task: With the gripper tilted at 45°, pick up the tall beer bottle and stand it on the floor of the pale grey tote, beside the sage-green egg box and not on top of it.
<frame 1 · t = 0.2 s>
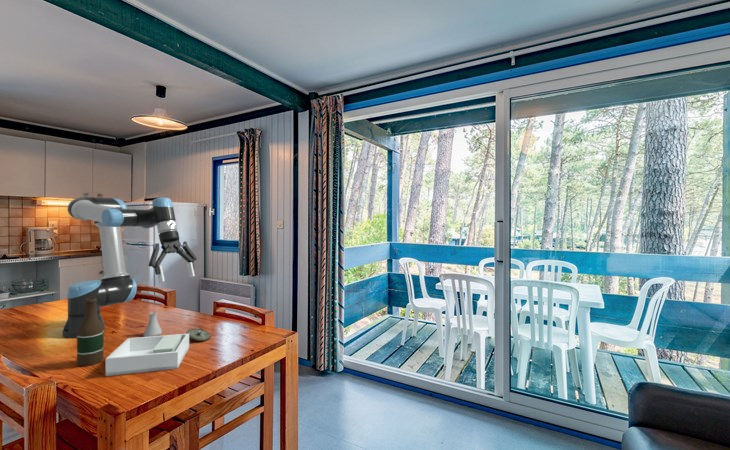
hand: (177, 279, 144), 28 cm above the table, tool tilted 20°, fingers open, 13 cm apart
flask: (153, 335, 154), on the table
tote: (151, 360, 127), on the table
beer bottle: (90, 362, 124), on the table
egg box: (167, 356, 128), point 1 cm above the table, touching tote
lid: (198, 339, 150), on the table
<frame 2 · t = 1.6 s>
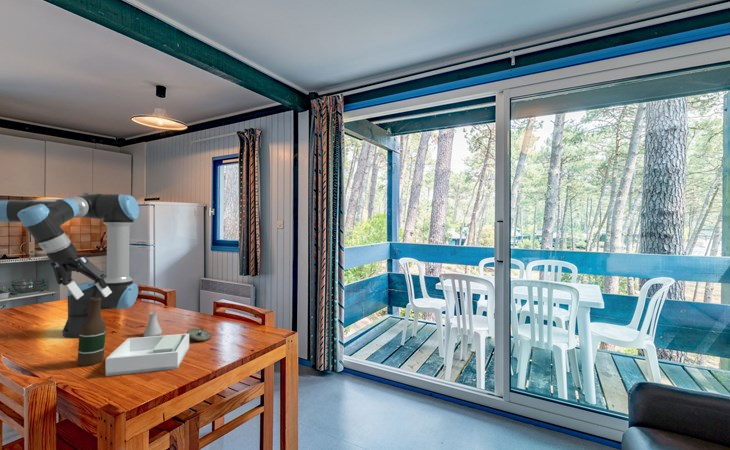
hand: (94, 295, 124), 25 cm above the table, tool tilted 30°, fingers open, 13 cm apart
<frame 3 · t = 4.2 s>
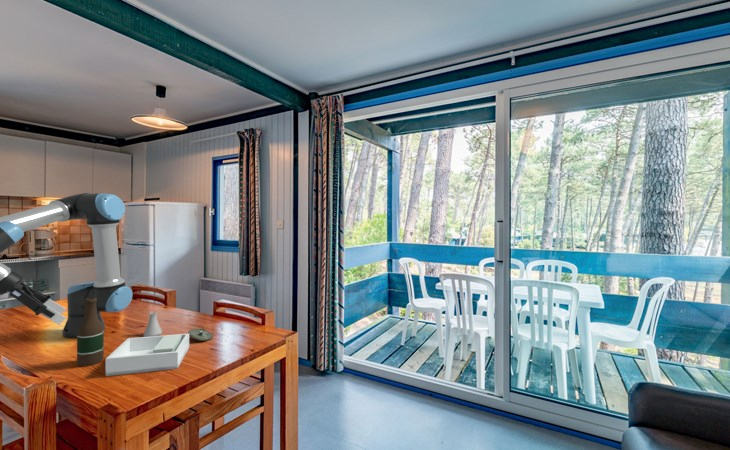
hand: (63, 316, 118), 19 cm above the table, tool tilted 45°, fingers open, 13 cm apart
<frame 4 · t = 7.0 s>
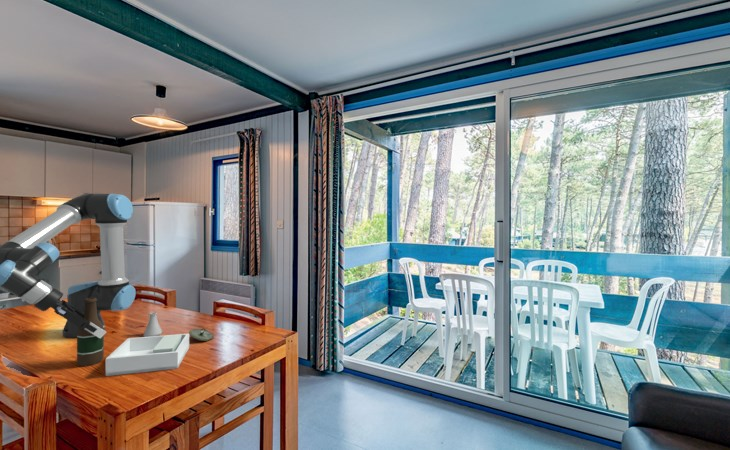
hand: (102, 332, 126), 11 cm above the table, tool tilted 45°, fingers closed on beer bottle, 7 cm apart
beer bottle: (90, 362, 124), on the table, touching gripper
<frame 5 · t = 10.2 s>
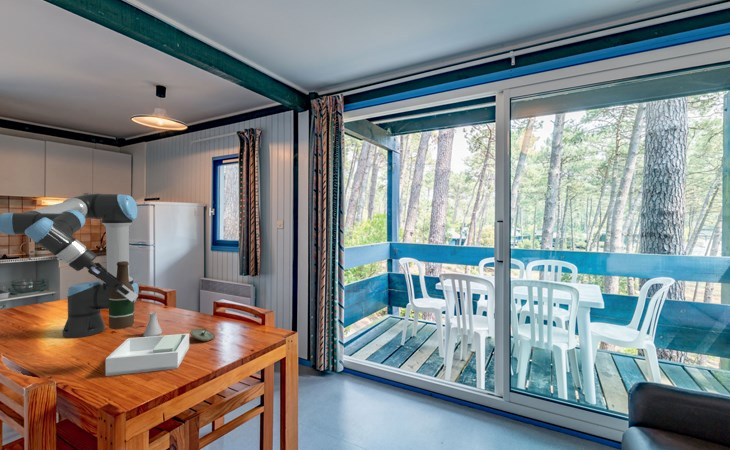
hand: (133, 296, 125), 25 cm above the table, tool tilted 45°, fingers closed on beer bottle, 7 cm apart
beer bottle: (121, 326, 123), point 14 cm above the table, touching gripper
when the fingers open (13 cm above the table, at t = 13.8 s): beer bottle drops 1 cm, resting on tote.
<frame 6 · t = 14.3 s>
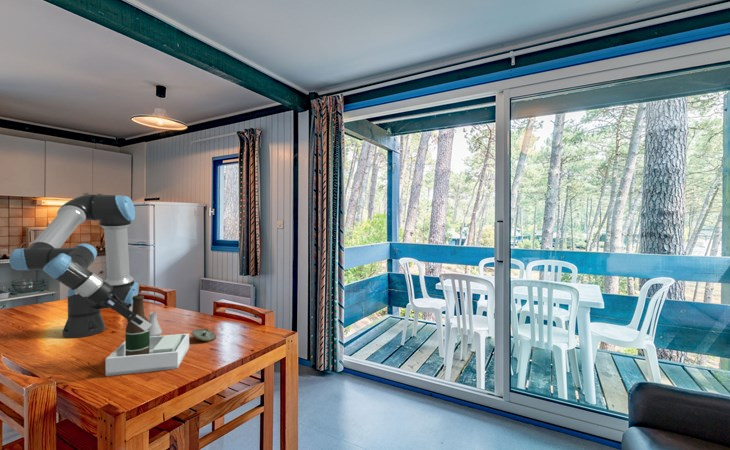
hand: (145, 323, 127), 14 cm above the table, tool tilted 45°, fingers open, 13 cm apart
beer bottle: (137, 359, 125), point 1 cm above the table, touching tote
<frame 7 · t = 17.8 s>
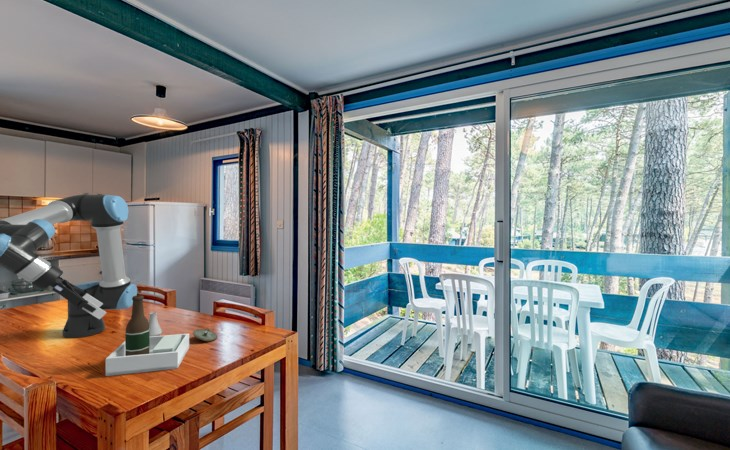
hand: (101, 311, 117), 21 cm above the table, tool tilted 45°, fingers open, 13 cm apart
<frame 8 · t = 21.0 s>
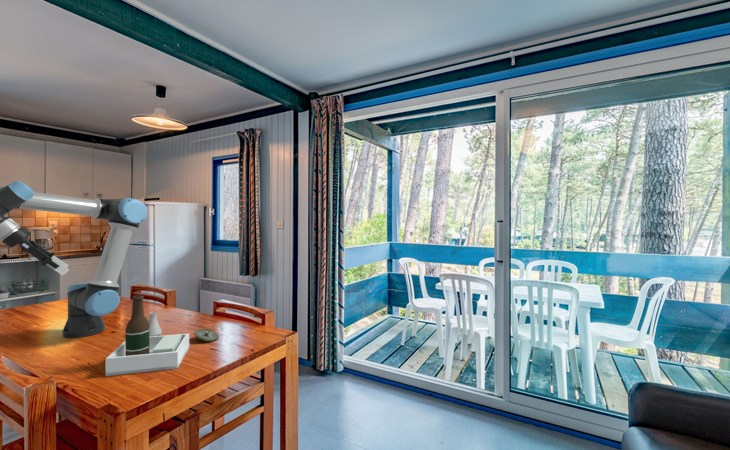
hand: (66, 270, 133), 33 cm above the table, tool tilted 45°, fingers open, 13 cm apart
at the end: beer bottle inside the target area on the tote (0.2 cm from its centre), point 0.8 cm above the tote's base; beer bottle tilted 0°; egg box moved 0.0 cm from its start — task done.
